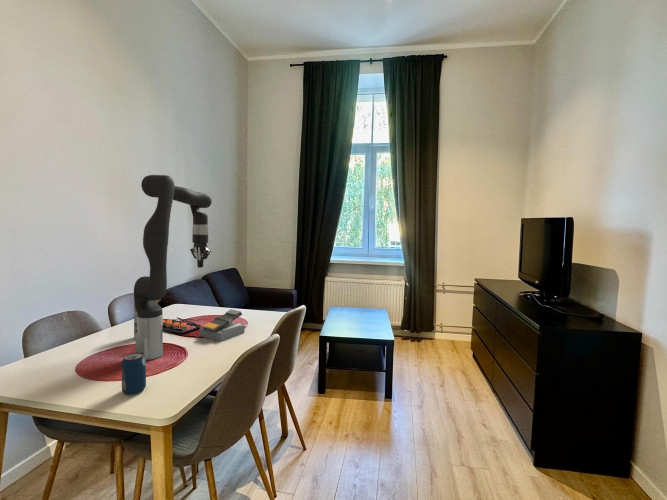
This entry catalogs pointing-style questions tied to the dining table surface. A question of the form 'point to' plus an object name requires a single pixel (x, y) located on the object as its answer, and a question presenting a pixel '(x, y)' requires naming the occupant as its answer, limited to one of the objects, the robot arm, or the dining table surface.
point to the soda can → (133, 373)
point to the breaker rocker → (222, 320)
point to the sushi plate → (174, 325)
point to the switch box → (222, 335)
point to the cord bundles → (231, 327)
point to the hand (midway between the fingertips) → (200, 267)
